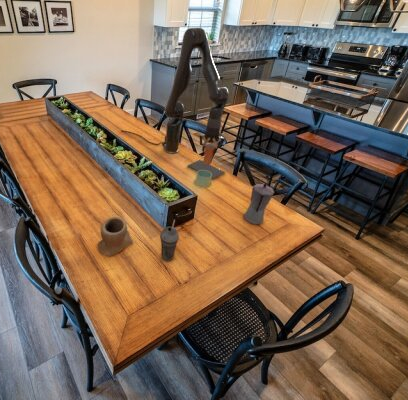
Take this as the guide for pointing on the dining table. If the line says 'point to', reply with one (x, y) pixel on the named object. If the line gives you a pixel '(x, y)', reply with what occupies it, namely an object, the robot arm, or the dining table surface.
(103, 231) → the stone cup
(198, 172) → the cup
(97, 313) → the dining table surface
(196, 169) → the slate board
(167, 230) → the beverage cup
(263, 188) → the moka pot
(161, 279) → the dining table surface
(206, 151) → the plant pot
